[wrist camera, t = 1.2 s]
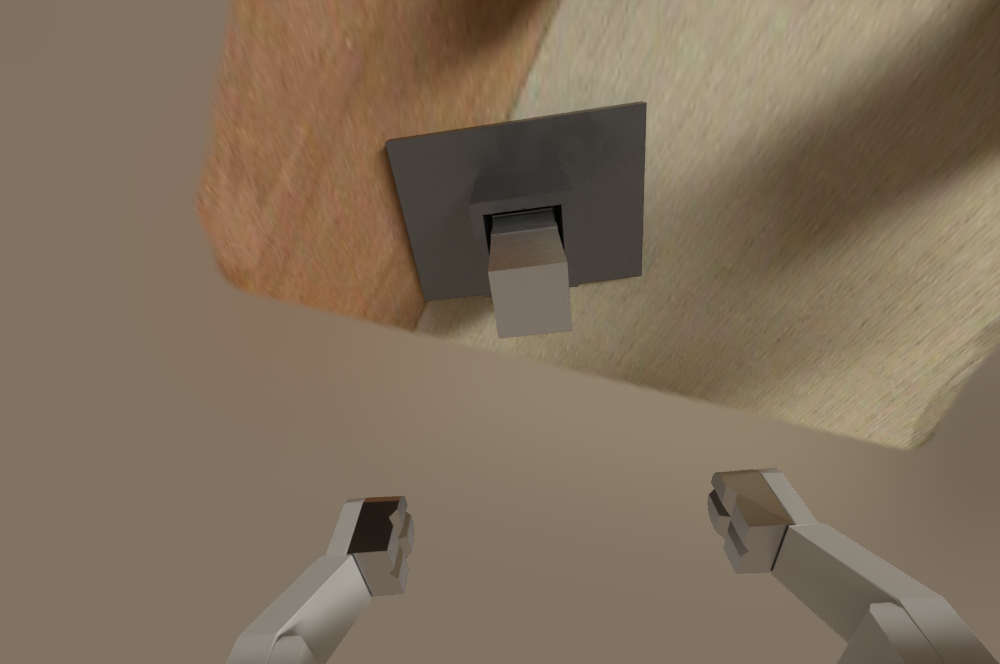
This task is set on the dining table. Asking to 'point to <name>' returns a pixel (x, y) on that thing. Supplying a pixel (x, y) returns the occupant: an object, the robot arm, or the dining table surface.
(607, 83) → the dining table surface
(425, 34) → the dining table surface
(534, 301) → the column
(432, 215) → the stand
